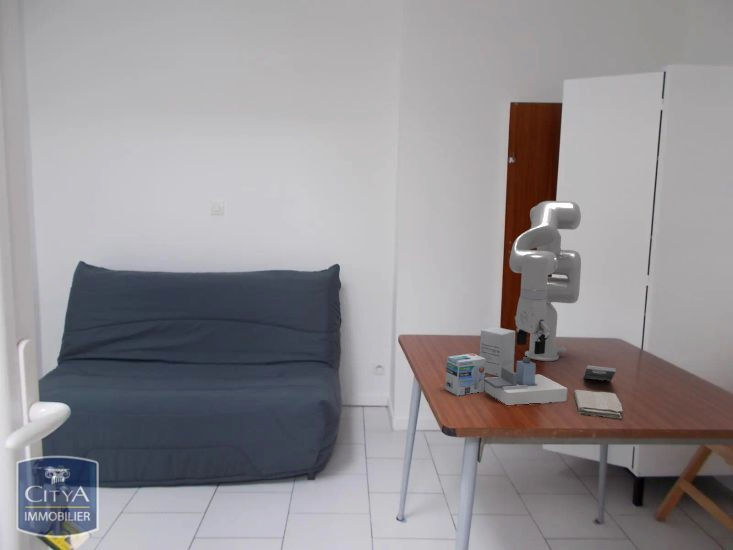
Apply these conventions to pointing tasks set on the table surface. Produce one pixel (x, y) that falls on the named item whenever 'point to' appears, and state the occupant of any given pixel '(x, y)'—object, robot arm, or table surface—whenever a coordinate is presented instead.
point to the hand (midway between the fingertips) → (530, 349)
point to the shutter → (503, 379)
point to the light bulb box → (465, 374)
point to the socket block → (529, 392)
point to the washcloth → (598, 404)
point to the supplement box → (497, 349)
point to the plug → (525, 372)
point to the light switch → (599, 373)
